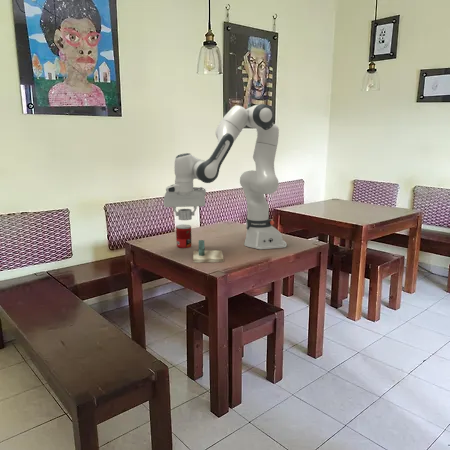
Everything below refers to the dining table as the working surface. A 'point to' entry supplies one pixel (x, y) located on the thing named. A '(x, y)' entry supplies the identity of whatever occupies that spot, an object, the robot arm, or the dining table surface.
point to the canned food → (183, 236)
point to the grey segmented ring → (185, 214)
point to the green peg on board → (207, 254)
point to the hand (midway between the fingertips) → (185, 215)
